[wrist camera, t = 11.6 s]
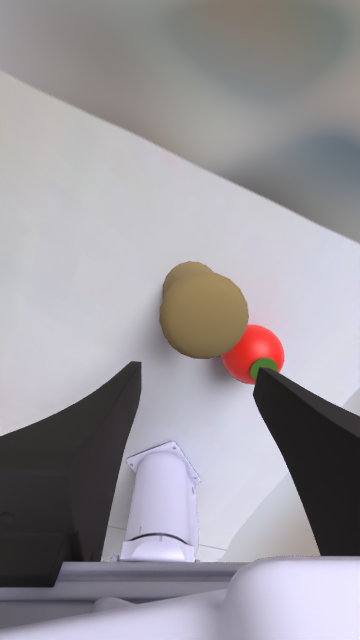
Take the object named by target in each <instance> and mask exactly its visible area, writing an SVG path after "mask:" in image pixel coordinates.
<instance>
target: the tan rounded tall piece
mask: <svg viewBox="0 0 360 640" xmlns="http://www.w3.org/2000/svg"><path fill="white" fill-rule="evenodd" d="M163 295H164V299H163V302H162V304H161V307H160V324H161V328H162V331H163V334H164V336H165V338H166V339H167V340H168V342H169V343H170V345H171V346H172V347H173V348H174V349H176V350H177V351H178V352H180V353H181V354H183V355H186V356H189V357H191V358H197V359H209V358H214V357H218V356H221V355H223V354H224V353H226V352H228V351H230V350H231V349H232V348H233V347H234V346H235V345H236V344H237V343H238V342H239V341H240V340H241V338H242V336H243V334H244V332H245V331H246V328H247V323H248V318H249V315H248V308H247V302H246V300H245V298H244V296H243V294H242V292H241V290H240V288H238V287H237V286H236V285H235V284H234V283H233V282H232V281H231V280H230V279H228V278H226V277H224V276H221V275H219V274H217V273H214V272H213V271H212V270H211V269H209V268H208V267H207V266H206V265H203V264H201V263H199V262H186V263H182V264H179V265H178V266H176V267H175V268H173V269H172V270H171V271H170V273H169V274H168V275H167V277H166V279H165V282H164V285H163Z"/></svg>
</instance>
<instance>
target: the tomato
mask: <svg viewBox="0 0 360 640" xmlns="http://www.w3.org/2000/svg"><path fill="white" fill-rule="evenodd" d="M221 357H222V361H223V364H224V366H225V368H226V370H227V371H228V372H229V373H230V374H231V375H232V376H233V377H234V378H236V379H237V380H239V381H241V382H243V383H247V384H255V383H256V378H257V374H258V370H259V367H266V368H271V369H273V370H274V371H276V372H278V373H279V372H280V370H281V368H282V366H283V362H284V350H283V347H282V344H281V342H280V341H279V339H278V338H277V337H276V335H275V334H274V333H272V332H271V331H270V330H268V329H266V328H264V327H262V326H258V325H247V328H246V331H245V332H244V334H243V336H242V338H241V340H240V341H239V342H238V343H237V344H236V345H235V346H234V347H233V348H232V349H231V350H230V351H228V352H226V353H224V354H223V355H221Z"/></svg>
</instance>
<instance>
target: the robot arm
mask: <svg viewBox="0 0 360 640" xmlns="http://www.w3.org/2000/svg"><path fill="white" fill-rule="evenodd" d="M140 395H141V362H135V361H131V362H130V363H129V364H127V365H126V366H125V367H124V368H123V369H122V370H121V371H120V372H119V373H117V374H116V375H115V376H114V377H113V378H111V379H110V380H109V381H108V382H106V383H105V384H104V385H103V386H101V387H100V388H99V389H97V390H96V391H94V392H93V393H91V394H90V395H88V396H87V397H85V398H83V399H82V400H80V401H78V402H77V403H75V404H73V405H71V406H69V407H67V408H66V409H64V410H62V411H60V412H58V413H56V414H54V415H52V416H50V417H47V418H45V419H43V420H41V421H38V422H36V423H34V424H31V425H29V426H26V427H24V428H21V429H19V430H16V431H13V432H11V433H8V434H5V435H3V436H0V640H360V416H358V415H356V414H353V413H351V412H349V411H347V410H345V409H343V408H341V407H338V406H336V405H334V404H332V403H330V402H328V401H326V400H324V399H323V398H321V397H319V396H317V395H315V394H314V393H312V392H310V391H308V390H306V389H305V388H303V387H301V386H300V385H298V384H296V383H295V382H293V381H291V380H290V379H288V378H286V377H285V376H283V375H281V374H280V373H278V372H276V371H274V370H273V369H271V368H266V367H259V370H258V374H257V378H256V383H255V387H254V392H253V397H254V399H255V402H256V405H257V407H258V410H259V412H260V414H261V416H262V418H263V420H264V422H265V423H266V425H267V427H268V429H269V431H270V433H271V435H272V436H273V438H274V440H275V442H276V444H277V446H278V448H279V450H280V452H281V454H282V456H283V458H284V460H285V462H286V465H287V467H288V469H289V472H290V474H291V476H292V478H293V481H294V484H295V486H296V489H297V491H298V494H299V496H300V499H301V501H302V503H303V507H304V509H305V512H306V515H307V517H308V520H309V523H310V526H311V528H312V531H313V534H314V537H315V540H316V543H317V546H318V549H319V552H320V554H321V556H276V557H269V558H262V559H257V560H255V561H253V562H251V563H239V562H238V563H237V562H236V563H235V562H233V563H232V562H231V563H230V562H226V563H225V562H201V561H200V560H195V556H196V553H197V550H198V545H199V524H198V512H197V501H196V489H195V485H197V484H199V483H200V482H201V481H200V478H199V476H198V475H197V473H196V472H195V470H194V469H193V467H192V466H191V465H190V463H189V462H188V460H187V459H186V457H185V456H184V454H183V453H182V451H181V450H180V448H179V447H178V446H177V444H176V443H175V442H174V441H171V442H168V443H166V444H163V445H161V446H158V447H155V448H153V449H150V450H148V451H145V452H143V453H140V454H138V455H135V456H132V457H130V458H128V459H127V461H126V463H127V464H128V466H129V467H130V468H131V469H132V470H133V472H134V473H135V474H136V480H135V486H134V491H133V497H132V502H131V508H130V513H129V519H128V524H127V529H126V535H125V540H124V541H123V542H122V548H121V553H120V558H119V555H113V557H112V559H111V560H110V561H109V562H100V561H101V556H102V551H103V545H104V540H105V535H106V530H107V526H108V521H109V516H110V511H111V506H112V502H113V497H114V492H115V488H116V483H117V479H118V474H119V470H120V465H121V461H122V457H123V453H124V449H125V445H126V442H127V439H128V436H129V433H130V430H131V427H132V424H133V421H134V418H135V415H136V412H137V408H138V405H139V400H140Z"/></svg>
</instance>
